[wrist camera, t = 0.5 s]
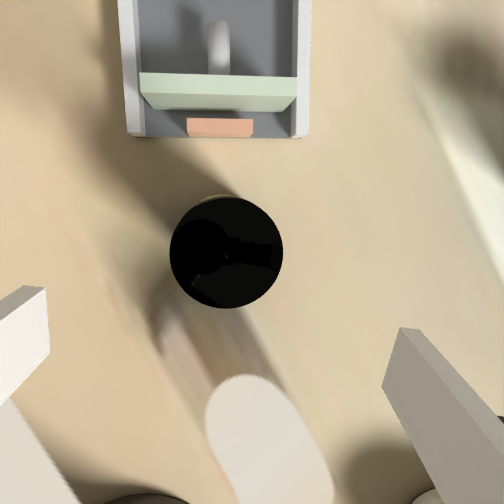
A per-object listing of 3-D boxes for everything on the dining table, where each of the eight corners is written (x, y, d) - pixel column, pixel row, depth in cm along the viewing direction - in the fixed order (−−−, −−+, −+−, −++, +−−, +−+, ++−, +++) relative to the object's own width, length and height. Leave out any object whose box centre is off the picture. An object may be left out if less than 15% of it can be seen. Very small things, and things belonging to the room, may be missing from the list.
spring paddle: (282, 112, 28) (296, 96, 23) (153, 109, 27) (140, 92, 22) (282, 43, 27) (298, 11, 22) (149, 37, 26) (134, 2, 21)
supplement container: (218, 176, 29) (221, 171, 19) (275, 227, 30) (306, 249, 20) (168, 234, 29) (144, 260, 19) (225, 282, 31) (232, 330, 21)
